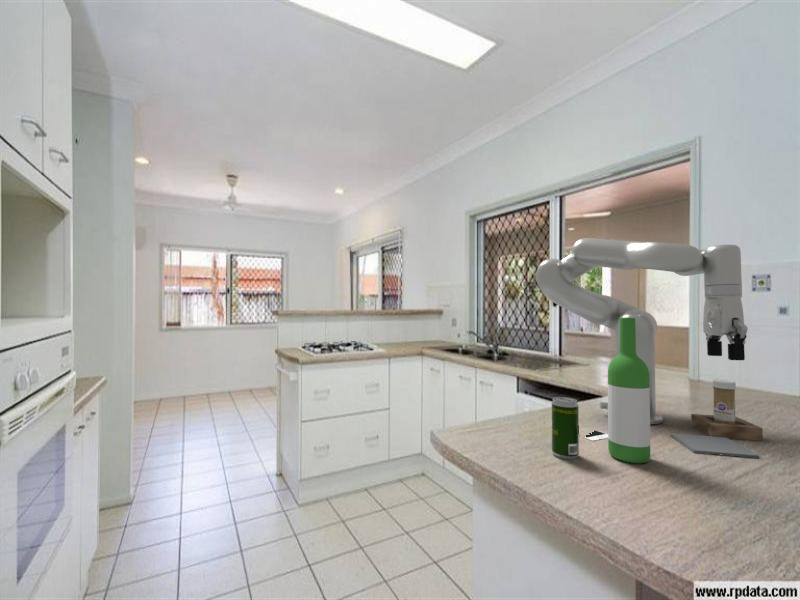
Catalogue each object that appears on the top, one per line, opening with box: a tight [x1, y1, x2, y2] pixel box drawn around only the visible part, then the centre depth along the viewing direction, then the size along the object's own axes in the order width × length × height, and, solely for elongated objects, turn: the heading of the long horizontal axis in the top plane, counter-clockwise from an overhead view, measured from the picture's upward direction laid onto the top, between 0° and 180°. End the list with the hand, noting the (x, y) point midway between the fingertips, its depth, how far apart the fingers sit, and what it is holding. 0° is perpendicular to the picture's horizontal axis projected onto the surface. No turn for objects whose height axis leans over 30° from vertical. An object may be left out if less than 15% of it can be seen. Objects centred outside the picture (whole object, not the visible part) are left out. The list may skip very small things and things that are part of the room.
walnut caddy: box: [690, 413, 764, 441], centre depth 99 cm, size 10×10×3 cm
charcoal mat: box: [669, 433, 760, 459], centre depth 89 cm, size 12×12×1 cm
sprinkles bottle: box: [712, 378, 737, 424], centre depth 99 cm, size 5×5×14 cm
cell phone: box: [584, 429, 608, 442], centre depth 101 cm, size 8×16×1 cm, turn 24°
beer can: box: [551, 396, 580, 460], centre depth 83 cm, size 5×5×12 cm
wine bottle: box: [607, 318, 651, 464], centre depth 82 cm, size 8×8×30 cm
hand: (725, 357), depth 99 cm, fingers open, 9 cm apart
